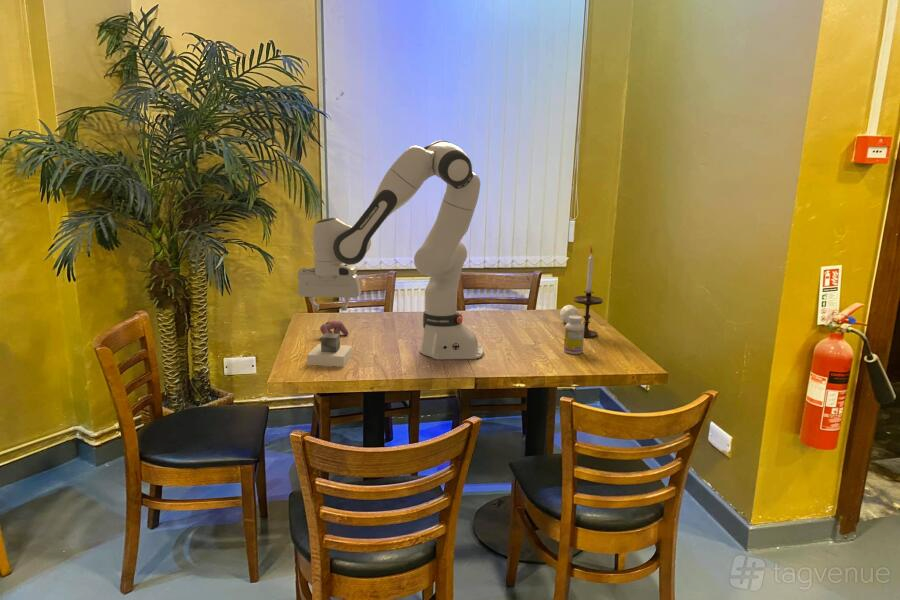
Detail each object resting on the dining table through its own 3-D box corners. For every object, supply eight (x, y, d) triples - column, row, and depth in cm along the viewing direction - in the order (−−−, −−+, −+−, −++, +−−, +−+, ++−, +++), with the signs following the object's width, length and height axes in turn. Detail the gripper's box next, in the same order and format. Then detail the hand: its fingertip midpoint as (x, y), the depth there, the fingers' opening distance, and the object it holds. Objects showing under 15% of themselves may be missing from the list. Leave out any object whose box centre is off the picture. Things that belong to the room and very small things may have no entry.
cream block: (352, 356, 218) (352, 345, 217) (343, 368, 206) (343, 356, 205) (318, 355, 219) (318, 344, 218) (307, 366, 207) (307, 354, 206)
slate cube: (339, 348, 214) (339, 333, 213) (336, 352, 209) (335, 338, 208) (325, 347, 214) (324, 333, 213) (321, 352, 209) (320, 337, 208)
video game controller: (343, 337, 244) (338, 320, 244) (350, 334, 241) (344, 317, 241) (322, 342, 237) (316, 324, 237) (328, 339, 234) (323, 321, 234)
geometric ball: (563, 329, 266) (552, 313, 266) (575, 320, 270) (564, 304, 270) (574, 324, 259) (563, 308, 259) (586, 315, 263) (575, 299, 263)
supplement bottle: (567, 348, 231) (569, 313, 228) (584, 350, 228) (587, 316, 225) (561, 352, 225) (563, 317, 222) (579, 355, 222) (582, 320, 219)
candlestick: (587, 340, 241) (594, 248, 233) (565, 333, 249) (571, 245, 241) (605, 335, 248) (612, 246, 240) (583, 329, 256) (589, 242, 248)
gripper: (293, 269, 204) (296, 311, 207) (356, 270, 202) (358, 312, 205) (300, 266, 210) (302, 307, 213) (361, 267, 208) (362, 308, 211)
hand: (330, 310), depth 209 cm, fingers open, 8 cm apart
